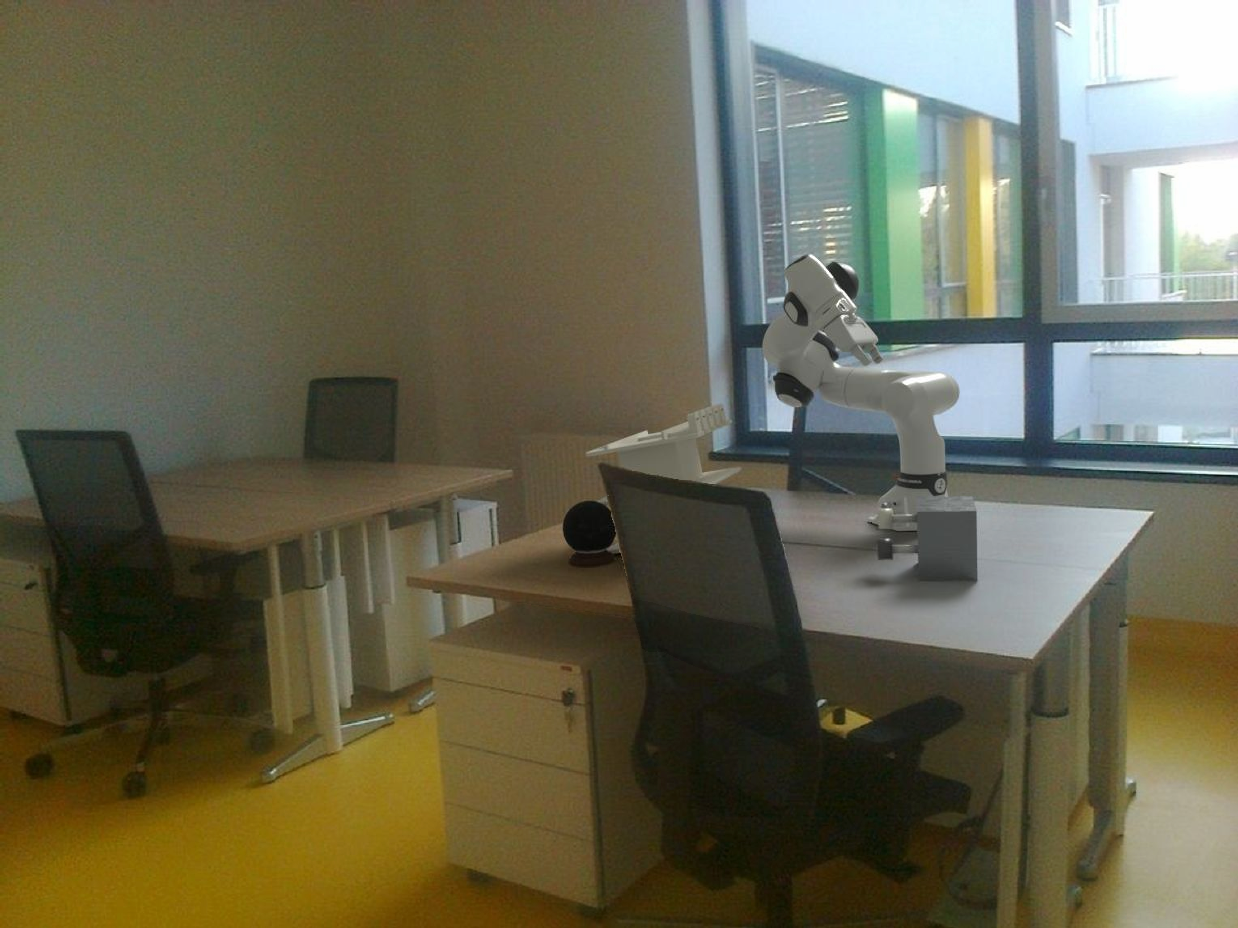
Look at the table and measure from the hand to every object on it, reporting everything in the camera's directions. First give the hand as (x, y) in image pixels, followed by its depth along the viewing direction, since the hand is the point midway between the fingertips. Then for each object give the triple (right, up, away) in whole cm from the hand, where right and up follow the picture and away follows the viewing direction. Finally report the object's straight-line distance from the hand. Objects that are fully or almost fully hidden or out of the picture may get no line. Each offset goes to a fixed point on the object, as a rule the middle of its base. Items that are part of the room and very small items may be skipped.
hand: (874, 363), depth 260 cm
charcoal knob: (+4, -43, -10) cm, 44 cm away
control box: (+14, -46, -8) cm, 49 cm away
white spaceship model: (-44, -43, +35) cm, 71 cm away
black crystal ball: (-64, -47, +22) cm, 82 cm away
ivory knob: (+5, -37, -3) cm, 37 cm away
